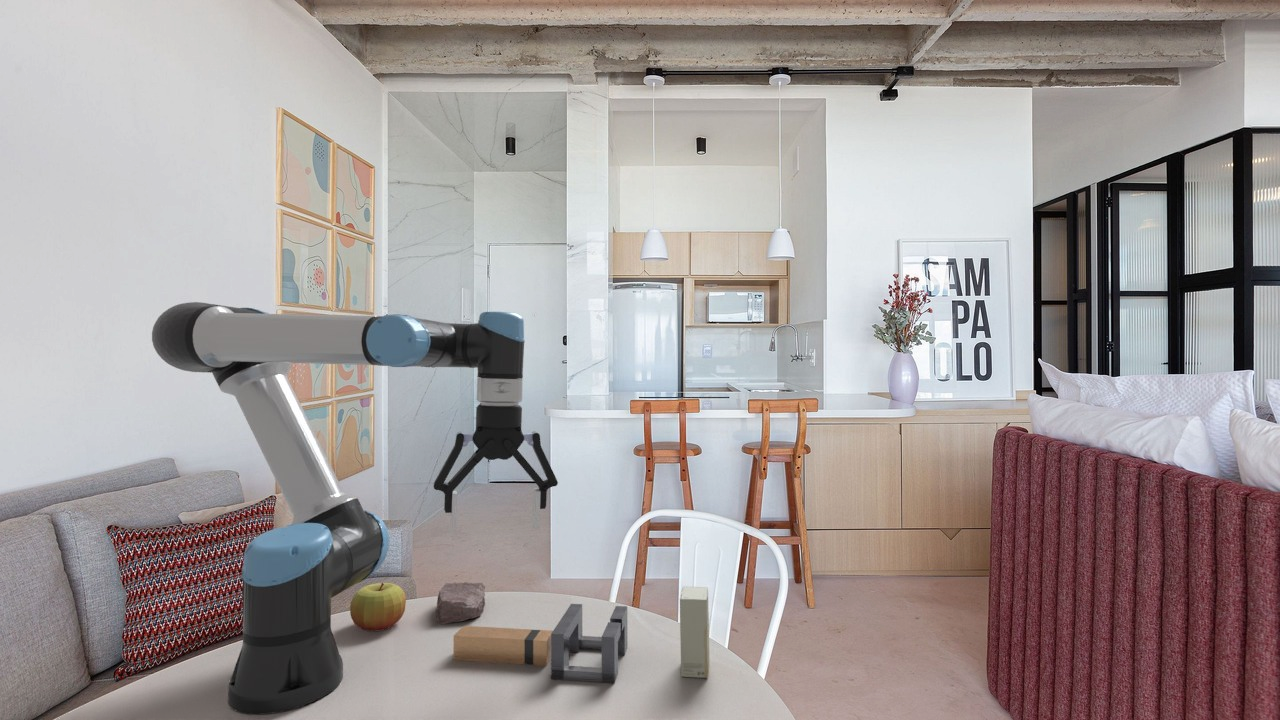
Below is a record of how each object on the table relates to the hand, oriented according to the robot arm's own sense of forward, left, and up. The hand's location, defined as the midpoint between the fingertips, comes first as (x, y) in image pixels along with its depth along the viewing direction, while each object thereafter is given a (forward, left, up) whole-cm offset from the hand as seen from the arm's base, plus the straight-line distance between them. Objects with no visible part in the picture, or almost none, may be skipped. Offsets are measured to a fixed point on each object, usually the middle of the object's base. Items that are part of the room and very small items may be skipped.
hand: (495, 530), depth 104 cm
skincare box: (+33, 0, -21) cm, 40 cm away
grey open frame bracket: (+16, 0, -21) cm, 27 cm away
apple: (-27, +9, -21) cm, 35 cm away
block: (+1, 0, -21) cm, 21 cm away
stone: (-14, +18, -22) cm, 32 cm away
